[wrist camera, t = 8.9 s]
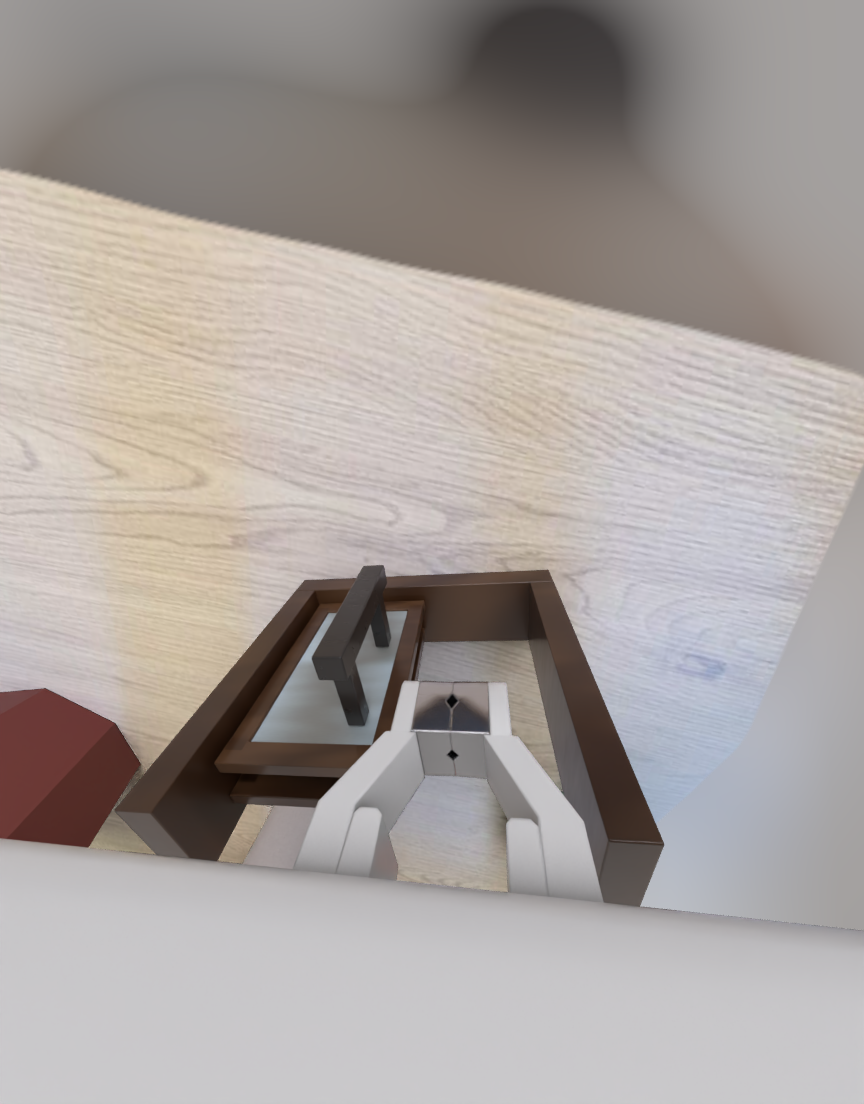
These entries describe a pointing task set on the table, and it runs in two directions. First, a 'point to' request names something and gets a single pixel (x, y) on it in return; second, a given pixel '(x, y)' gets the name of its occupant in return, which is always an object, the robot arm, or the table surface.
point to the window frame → (450, 615)
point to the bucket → (58, 769)
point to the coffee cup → (280, 837)
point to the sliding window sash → (331, 687)
